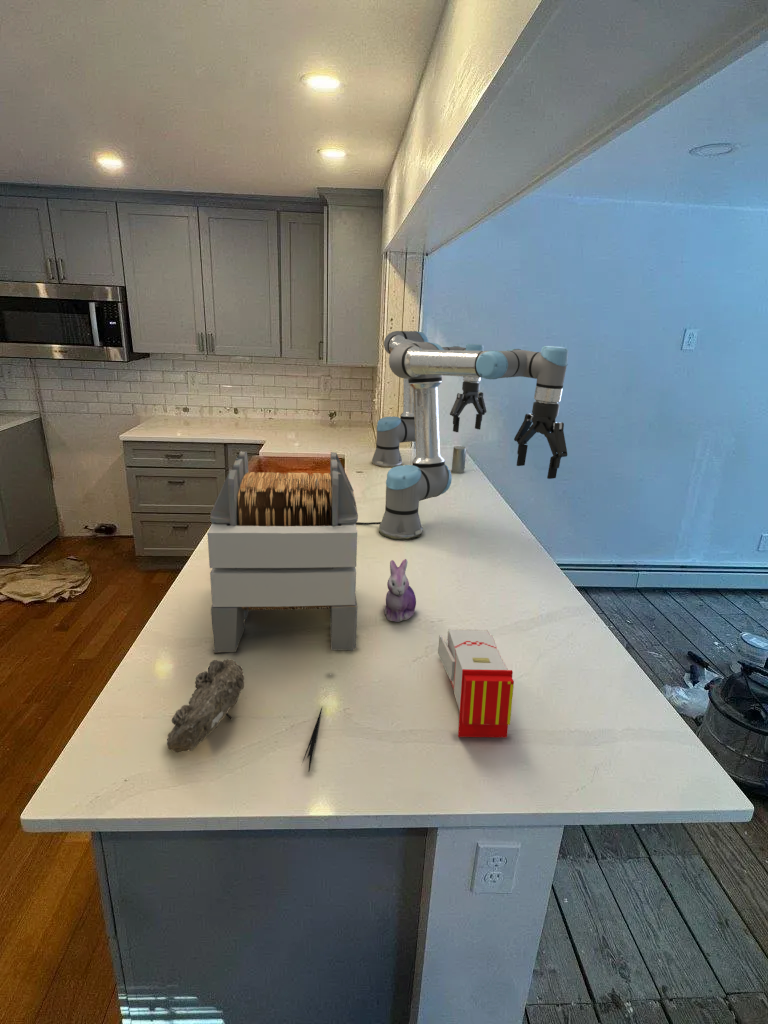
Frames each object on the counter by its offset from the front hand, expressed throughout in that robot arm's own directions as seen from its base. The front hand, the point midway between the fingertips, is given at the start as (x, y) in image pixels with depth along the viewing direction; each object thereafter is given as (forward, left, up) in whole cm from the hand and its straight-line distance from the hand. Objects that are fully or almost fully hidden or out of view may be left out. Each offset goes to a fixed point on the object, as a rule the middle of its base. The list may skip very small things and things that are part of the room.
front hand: (535, 471), depth 172 cm
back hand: (-68, +46, -5) cm, 82 cm away
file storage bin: (-15, -78, -30) cm, 85 cm away
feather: (+22, -94, -30) cm, 101 cm away
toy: (+34, -64, -30) cm, 79 cm away
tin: (-85, +62, -30) cm, 109 cm away
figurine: (+1, -55, -30) cm, 62 cm away
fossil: (+9, -110, -30) cm, 114 cm away
